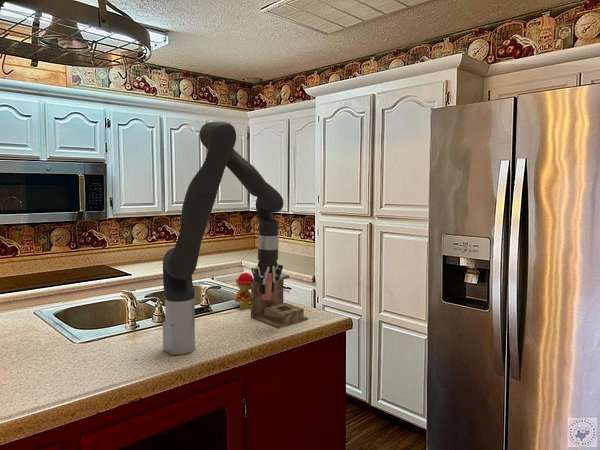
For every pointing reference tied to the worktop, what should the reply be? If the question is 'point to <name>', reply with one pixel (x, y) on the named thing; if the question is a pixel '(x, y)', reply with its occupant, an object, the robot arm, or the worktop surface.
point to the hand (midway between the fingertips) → (266, 293)
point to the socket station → (274, 306)
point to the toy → (244, 290)
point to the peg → (268, 287)
